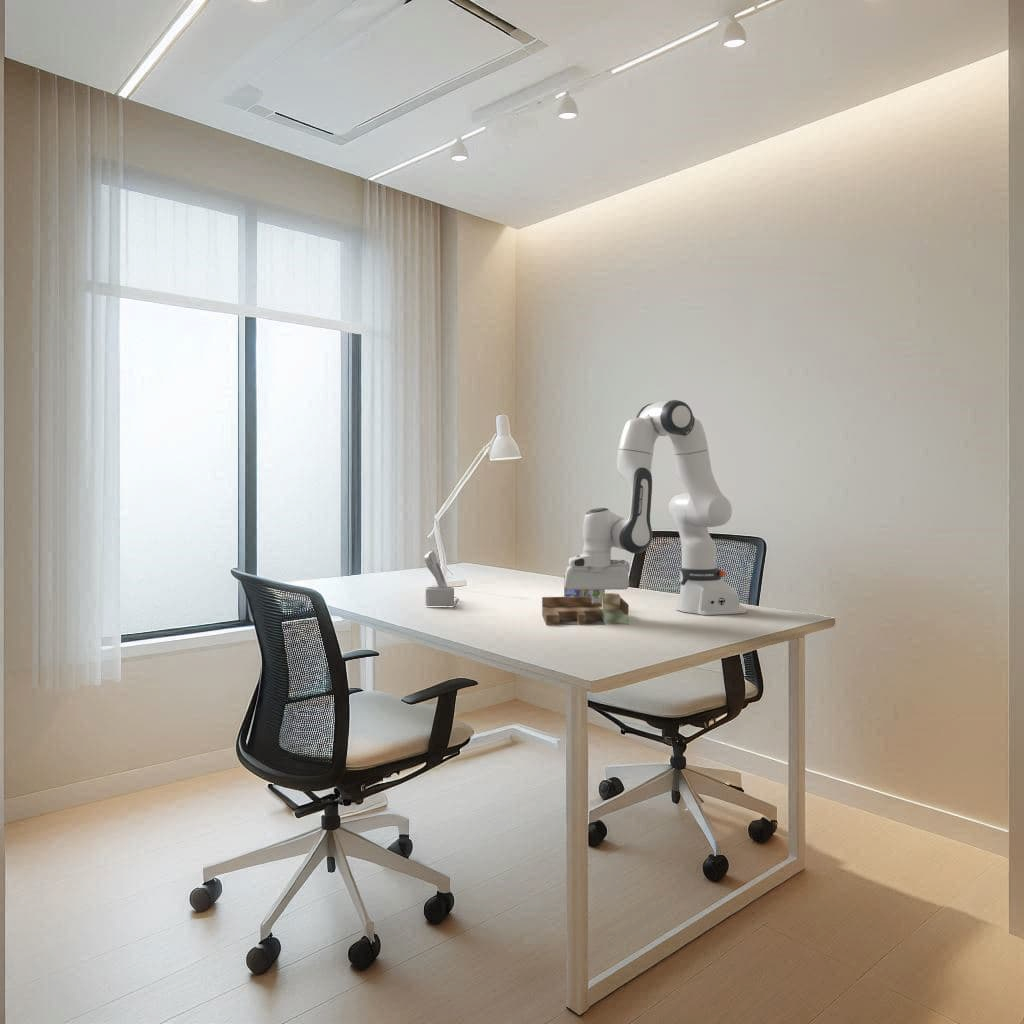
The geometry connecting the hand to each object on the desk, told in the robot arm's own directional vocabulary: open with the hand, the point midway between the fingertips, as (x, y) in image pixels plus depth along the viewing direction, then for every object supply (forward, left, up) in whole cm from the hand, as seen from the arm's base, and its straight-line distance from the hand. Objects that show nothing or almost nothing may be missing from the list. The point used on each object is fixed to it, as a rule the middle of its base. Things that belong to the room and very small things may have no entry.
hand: (596, 603), depth 244 cm
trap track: (+4, +3, -5) cm, 7 cm away
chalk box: (+2, -16, -5) cm, 17 cm away
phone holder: (+50, -29, -5) cm, 58 cm away
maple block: (-5, 0, -2) cm, 5 cm away
